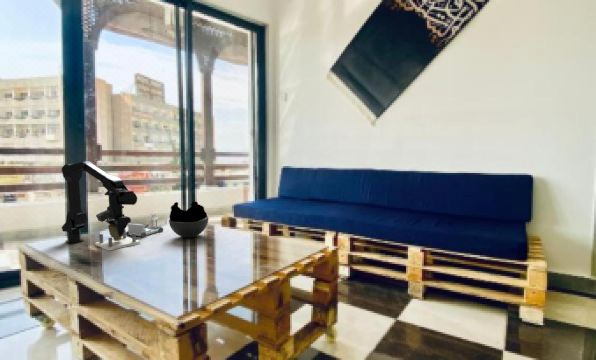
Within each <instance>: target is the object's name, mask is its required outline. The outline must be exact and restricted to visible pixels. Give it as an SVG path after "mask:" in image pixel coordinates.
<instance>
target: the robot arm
mask: <svg viewBox="0 0 596 360" xmlns="http://www.w3.org/2000/svg"><path fill="white" fill-rule="evenodd" d="M61 172H62V177H63V178H64V180H65V181H66V182H67V195H68V207H69V210H68V212H67V214H66V217H65V222H64V224H63V225H62V226H61V230H62V232H64V233H65V232H66V234H67V235H66V236H67V239H66V240H65V243H67V244H70V245H71V244H74V243H80V242H84V239H82V237H81V234H82V233H81V229H85V226H86V223H87V220H88V218H87V212H84V211H83V210H82V201H81V188H80V181H81V178H82V177H83V173H84V172H85V173H87V174H88V175H90V176H92V177H93V178H95V179H96V180H98V181H99V182H101V184H102V186H103V188H104V189H106V190H107V191H106V192H105V193H104V196H108V205H107V207H106V210H104V211H101V212H100V213H97V214H96V215H95V217H96V218H97V220H98V222H101V223H103V222H105V223H107V224H108V226H109V225H110V226H111V224H114V225H115V226H117V229H118V234H119V237H121V236H122V235H123V232H124V230H126V228H127V227H128V224H131V222H132V219H131V217H129V216H126V215H125V214H124V212H123V209H124V208H125V206H126V205H127V206H134V205H136V204H137V202H138V197H137V196H138V195H136V193H135V192H134V191H135V190H129V189H128V188H127V187H126V184H124V181H123V179H121V178H119V177H117V176H114V175H110V174H108V173H107V172H105V171H103V170H102V169H101V168H99V166H96V165H95V164H93V163H92V162H91V161H89V160H88V161H80V162H76V163H67V164H64V165H63V166H62V167H61ZM124 205H125V206H124ZM122 237H123V236H122Z"/></svg>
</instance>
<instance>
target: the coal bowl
mask: <svg viewBox="0 0 596 360" xmlns="http://www.w3.org/2000/svg"><path fill="white" fill-rule="evenodd" d="M189 206H190V207H189V208H188V209H186V210H184V209H181V208H180V206H179V201H175V202H174V203H173V204H172V205H171V206H170V209H171V210H170V212H169V219H168V223H169V227H170V228H171V230H172V232H174V233H175V235H178V236H179V237H182V238H186V239H188V238H195V237H197V236H199V235H201V233H203V232H204V231H205V229H206V228H207V226H208V224H209V216H208V214H207V213H208V212H206V210H205V207H204V206H203V205H201V204H199V203H198V201H192V203H190V204H189Z"/></svg>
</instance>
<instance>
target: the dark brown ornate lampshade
mask: <svg viewBox="0 0 596 360" xmlns="http://www.w3.org/2000/svg"><path fill="white" fill-rule="evenodd" d="M107 227H108V231H109V235H110V238H112V239H113V240H114V241H120V240H121V239H122V238H121V237H123V235H124V232H125V230H126V229H125V230H124V232H123V235H122V236H121V237H119V234H118V229H117V226H115V225H114V224H111V226H110V225H109V224H108V225H107Z"/></svg>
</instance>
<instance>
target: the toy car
mask: <svg viewBox="0 0 596 360" xmlns="http://www.w3.org/2000/svg"><path fill="white" fill-rule="evenodd" d="M150 220H151V221H155V225H154V224H153V223H151V225H150V224H148V223H146V224H145V226H144V224H139V223H128V224H127V227H128V228H127V231H126V236H127V237H130V236H132V233H136V236H137V237H140V238H142V239H143V238H146V237H147V236H148V235H151V234H155V233H162V232H164V228H163V227H162V226H161V225H158V220H160V219H159V217H158V216H157V215H156V213H155V214H152V213H151V214H150ZM129 235H130V236H129Z"/></svg>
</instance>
